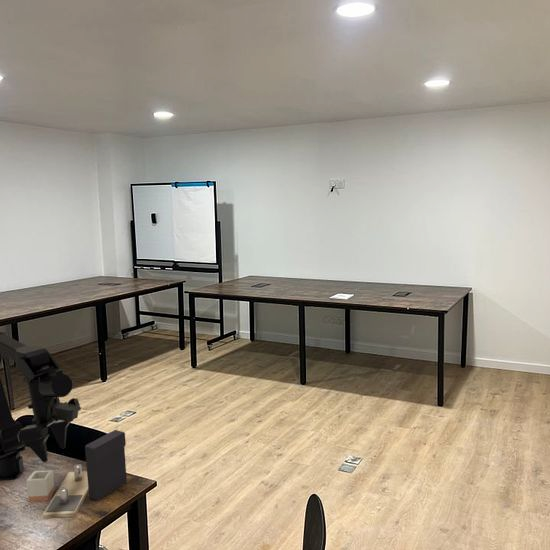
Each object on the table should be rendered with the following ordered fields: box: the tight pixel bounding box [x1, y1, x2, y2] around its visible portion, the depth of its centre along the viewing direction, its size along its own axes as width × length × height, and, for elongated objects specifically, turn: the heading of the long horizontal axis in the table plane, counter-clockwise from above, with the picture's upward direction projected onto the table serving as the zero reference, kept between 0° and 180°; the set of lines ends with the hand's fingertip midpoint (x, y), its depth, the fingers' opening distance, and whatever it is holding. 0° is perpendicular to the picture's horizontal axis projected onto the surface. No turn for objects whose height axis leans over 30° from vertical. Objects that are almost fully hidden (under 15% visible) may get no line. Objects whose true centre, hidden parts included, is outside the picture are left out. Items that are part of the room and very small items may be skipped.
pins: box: [58, 463, 83, 505], centre depth 145 cm, size 2×14×4 cm, turn 3°
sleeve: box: [26, 469, 56, 503], centre depth 145 cm, size 5×5×6 cm
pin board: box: [42, 470, 89, 519], centre depth 145 cm, size 8×21×1 cm, turn 3°
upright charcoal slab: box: [84, 429, 128, 501], centre depth 146 cm, size 11×4×15 cm, turn 151°
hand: (54, 454), depth 142 cm, fingers open, 9 cm apart
